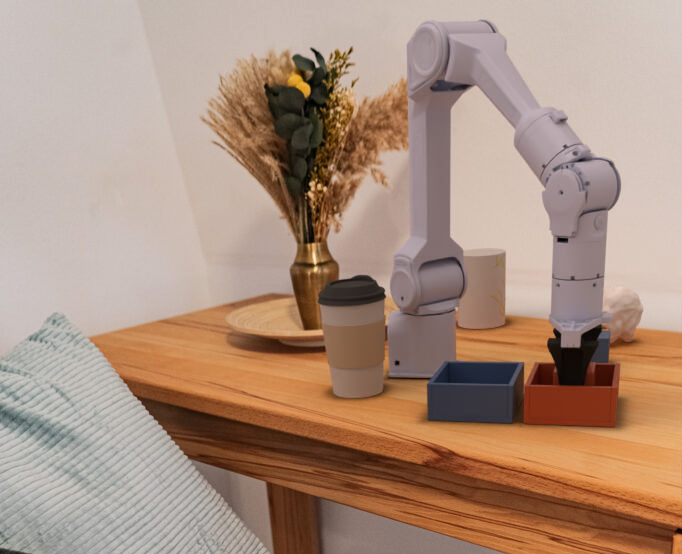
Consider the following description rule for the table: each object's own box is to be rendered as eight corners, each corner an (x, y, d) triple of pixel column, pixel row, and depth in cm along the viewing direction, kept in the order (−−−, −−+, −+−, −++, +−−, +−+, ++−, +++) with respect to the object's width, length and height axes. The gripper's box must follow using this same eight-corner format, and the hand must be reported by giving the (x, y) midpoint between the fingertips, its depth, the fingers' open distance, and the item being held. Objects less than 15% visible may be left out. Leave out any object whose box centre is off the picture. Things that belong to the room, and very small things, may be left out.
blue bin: (427, 420, 102) (426, 383, 100) (445, 394, 111) (444, 360, 109) (512, 423, 99) (512, 385, 97) (523, 397, 108) (524, 361, 106)
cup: (504, 328, 142) (504, 255, 137) (455, 329, 144) (454, 257, 139) (506, 317, 149) (506, 247, 144) (460, 318, 151) (458, 249, 146)
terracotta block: (552, 408, 100) (553, 371, 98) (555, 397, 103) (557, 361, 101) (591, 410, 98) (593, 372, 96) (593, 398, 102) (595, 362, 100)
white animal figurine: (608, 290, 121) (567, 285, 132) (608, 349, 124) (567, 340, 135) (647, 284, 122) (603, 280, 133) (646, 343, 125) (602, 334, 136)
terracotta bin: (523, 423, 98) (524, 385, 96) (534, 397, 107) (535, 362, 105) (614, 427, 95) (617, 388, 93) (617, 399, 104) (620, 363, 102)
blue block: (573, 370, 117) (574, 338, 115) (575, 361, 120) (577, 330, 119) (607, 370, 115) (609, 338, 113) (608, 361, 119) (610, 330, 117)
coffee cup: (369, 403, 110) (362, 287, 103) (312, 396, 114) (302, 285, 108) (402, 384, 116) (397, 274, 110) (347, 378, 121) (340, 272, 115)
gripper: (612, 287, 87) (605, 412, 93) (617, 264, 99) (610, 375, 105) (543, 288, 89) (539, 410, 95) (556, 265, 102) (552, 374, 107)
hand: (572, 392), depth 100 cm, fingers closed on terracotta block, 4 cm apart
